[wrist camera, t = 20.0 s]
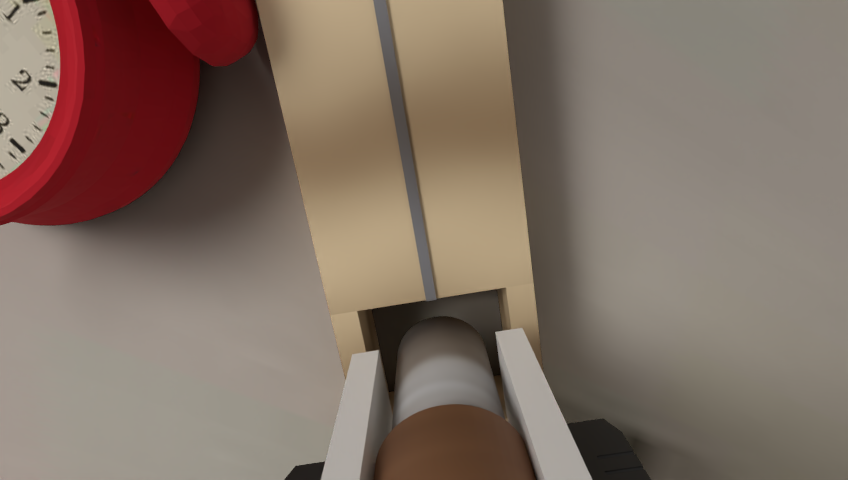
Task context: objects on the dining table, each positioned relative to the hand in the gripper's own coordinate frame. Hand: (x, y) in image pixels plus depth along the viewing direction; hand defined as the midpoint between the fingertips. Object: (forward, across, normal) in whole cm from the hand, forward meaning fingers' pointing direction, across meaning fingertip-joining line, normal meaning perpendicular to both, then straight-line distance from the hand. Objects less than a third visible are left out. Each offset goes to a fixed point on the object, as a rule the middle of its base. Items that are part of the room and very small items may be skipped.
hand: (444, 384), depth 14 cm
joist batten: (+4, 0, +2) cm, 4 cm away
